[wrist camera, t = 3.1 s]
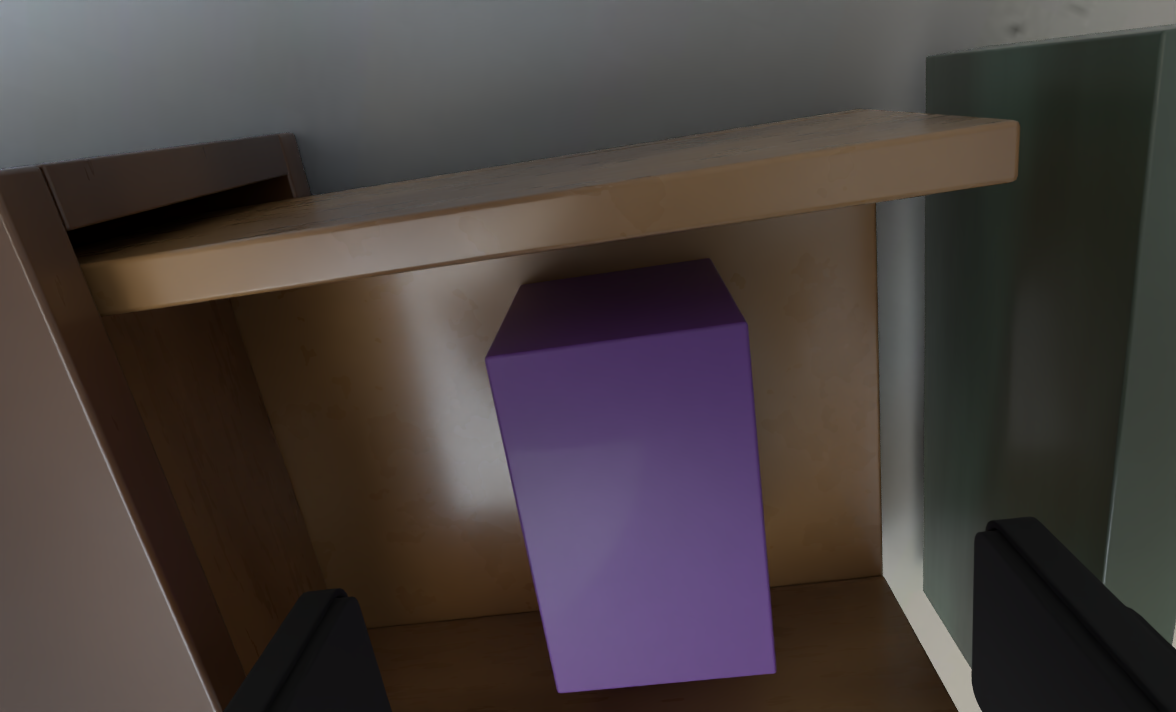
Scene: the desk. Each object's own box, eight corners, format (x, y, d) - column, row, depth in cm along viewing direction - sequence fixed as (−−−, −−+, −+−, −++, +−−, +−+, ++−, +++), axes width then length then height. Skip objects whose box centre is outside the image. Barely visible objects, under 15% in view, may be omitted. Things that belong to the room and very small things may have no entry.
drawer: (1203, 10, 14) (1680, -54, 8) (1133, 569, 19) (1400, 816, 13) (185, 177, 16) (-98, 234, 10) (345, 649, 21) (224, 898, 14)
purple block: (519, 284, 16) (483, 357, 11) (711, 256, 15) (748, 321, 11) (570, 551, 18) (556, 695, 14) (738, 532, 18) (778, 675, 13)
